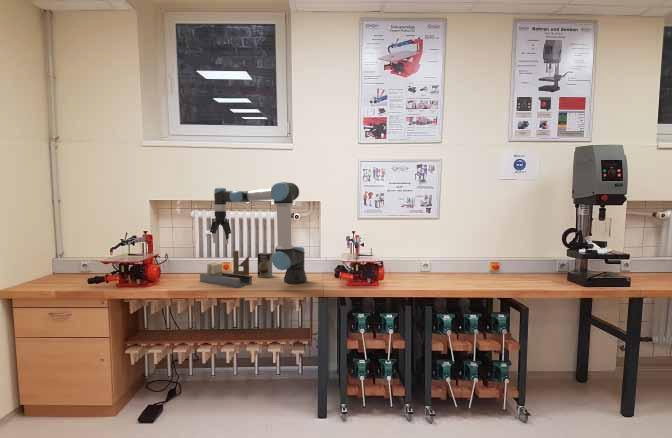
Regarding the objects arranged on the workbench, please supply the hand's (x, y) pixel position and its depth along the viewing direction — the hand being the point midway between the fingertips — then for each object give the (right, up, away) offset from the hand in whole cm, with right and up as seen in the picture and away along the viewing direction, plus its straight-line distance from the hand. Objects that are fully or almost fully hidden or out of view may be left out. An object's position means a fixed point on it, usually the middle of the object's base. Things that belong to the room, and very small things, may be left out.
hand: (220, 243), depth 248 cm
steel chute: (+7, -25, -11) cm, 28 cm away
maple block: (-2, -23, -6) cm, 24 cm away
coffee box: (+28, -24, +10) cm, 38 cm away
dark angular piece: (+11, -24, +9) cm, 28 cm away
